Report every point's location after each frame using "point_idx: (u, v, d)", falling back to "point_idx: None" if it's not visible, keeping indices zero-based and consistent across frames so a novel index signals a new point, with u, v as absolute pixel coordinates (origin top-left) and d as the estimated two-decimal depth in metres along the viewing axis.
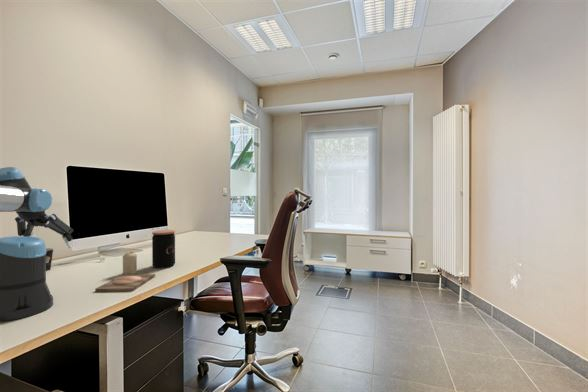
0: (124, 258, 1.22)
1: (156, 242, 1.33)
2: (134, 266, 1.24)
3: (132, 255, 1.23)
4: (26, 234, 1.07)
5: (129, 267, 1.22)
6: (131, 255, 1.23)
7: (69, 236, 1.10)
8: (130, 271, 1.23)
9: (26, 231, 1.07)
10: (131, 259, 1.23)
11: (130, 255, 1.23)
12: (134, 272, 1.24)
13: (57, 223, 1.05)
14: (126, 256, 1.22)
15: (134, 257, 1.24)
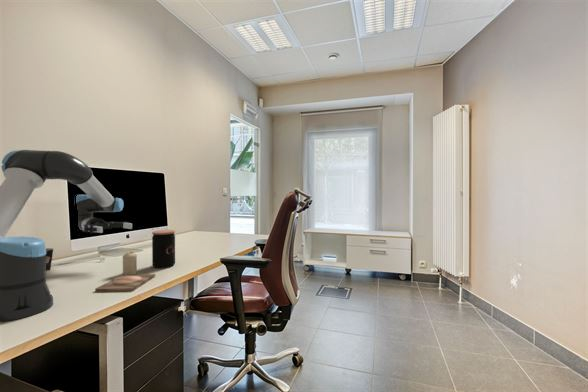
0: (124, 258, 1.22)
1: (156, 242, 1.33)
2: (134, 266, 1.24)
3: (132, 255, 1.23)
4: (92, 226, 1.26)
5: (129, 267, 1.22)
6: (131, 255, 1.23)
7: None
8: (130, 271, 1.23)
9: (92, 225, 1.28)
10: (131, 259, 1.23)
11: (130, 255, 1.23)
12: (134, 272, 1.24)
13: None
14: (126, 256, 1.22)
15: (134, 257, 1.24)
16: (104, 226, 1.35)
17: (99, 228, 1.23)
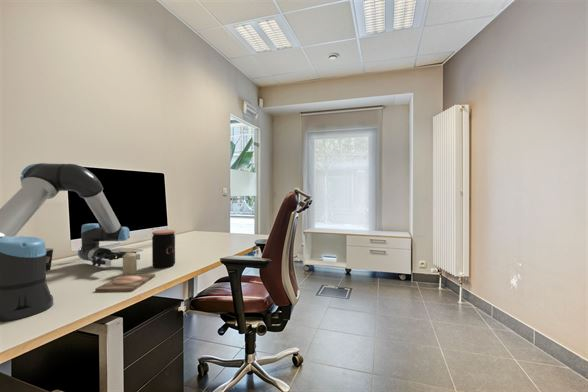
0: (124, 258, 1.22)
1: (156, 242, 1.33)
2: (134, 266, 1.24)
3: (132, 255, 1.23)
4: (100, 258, 1.25)
5: (129, 267, 1.22)
6: (131, 255, 1.23)
7: None
8: (130, 271, 1.23)
9: (100, 257, 1.26)
10: (131, 259, 1.23)
11: (130, 255, 1.23)
12: (134, 272, 1.24)
13: None
14: (126, 256, 1.22)
15: (134, 257, 1.24)
16: (111, 257, 1.33)
17: (107, 261, 1.21)
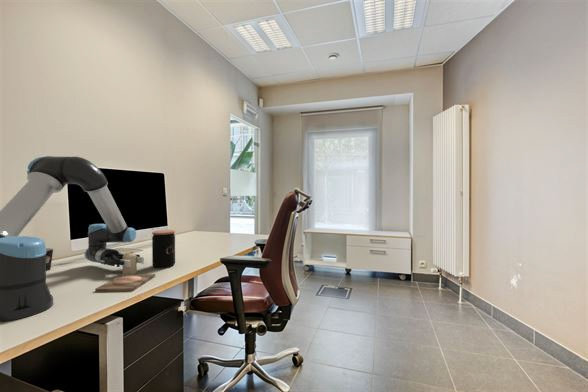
0: (124, 258, 1.22)
1: (156, 242, 1.33)
2: (134, 266, 1.24)
3: (132, 255, 1.23)
4: (118, 259, 1.23)
5: (129, 267, 1.22)
6: (131, 255, 1.23)
7: None
8: (130, 271, 1.23)
9: (116, 258, 1.24)
10: (131, 259, 1.23)
11: (130, 255, 1.23)
12: (134, 272, 1.24)
13: None
14: (126, 256, 1.22)
15: (134, 257, 1.24)
16: (119, 258, 1.29)
17: (127, 262, 1.20)
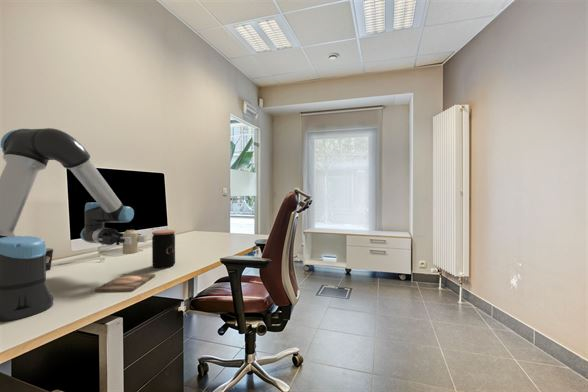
0: (124, 236, 1.13)
1: (156, 242, 1.33)
2: (135, 245, 1.15)
3: (133, 233, 1.15)
4: (117, 237, 1.14)
5: (130, 245, 1.14)
6: (132, 233, 1.14)
7: None
8: (131, 250, 1.14)
9: (115, 236, 1.15)
10: (131, 237, 1.14)
11: (131, 232, 1.14)
12: (135, 251, 1.15)
13: None
14: (126, 233, 1.13)
15: (135, 235, 1.15)
16: None
17: (127, 239, 1.11)
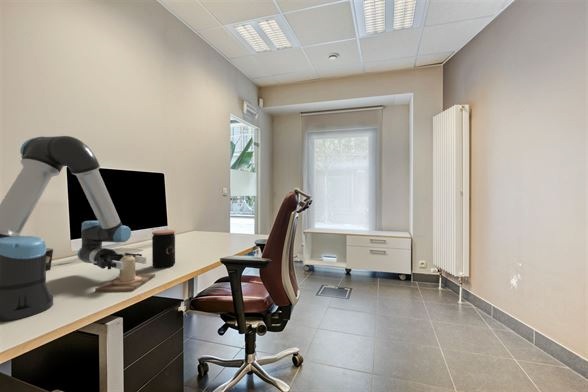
0: None
1: (156, 242, 1.33)
2: (132, 271, 1.10)
3: (130, 259, 1.10)
4: (109, 260, 1.08)
5: (127, 272, 1.09)
6: (129, 259, 1.09)
7: None
8: (128, 277, 1.09)
9: (108, 259, 1.09)
10: (129, 263, 1.09)
11: (128, 259, 1.09)
12: (132, 278, 1.10)
13: None
14: (123, 260, 1.08)
15: (132, 261, 1.10)
16: (116, 259, 1.15)
17: (119, 264, 1.05)
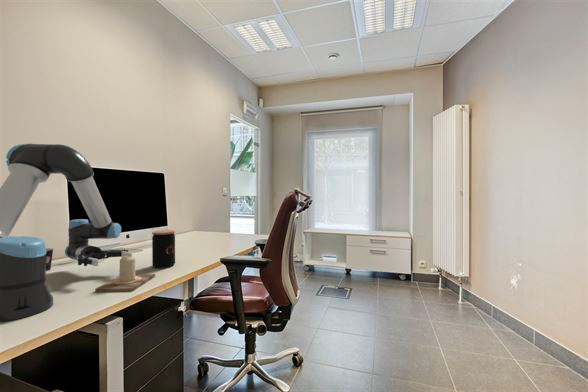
0: (121, 262, 1.08)
1: (156, 242, 1.33)
2: (132, 271, 1.10)
3: (130, 259, 1.10)
4: (87, 257, 1.13)
5: (127, 272, 1.09)
6: (129, 259, 1.09)
7: None
8: (128, 277, 1.09)
9: (87, 256, 1.15)
10: (129, 263, 1.09)
11: (128, 259, 1.09)
12: (132, 278, 1.10)
13: None
14: (123, 260, 1.08)
15: (132, 261, 1.10)
16: (100, 256, 1.21)
17: (94, 261, 1.09)
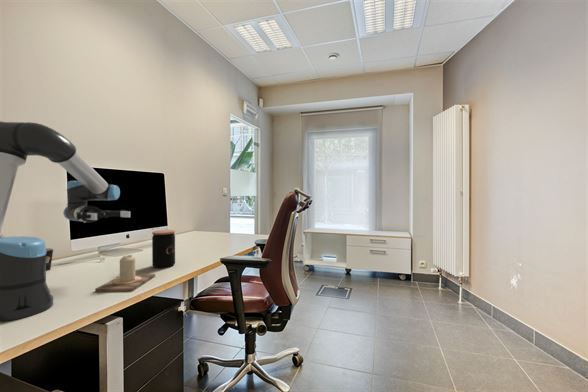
0: (121, 262, 1.08)
1: (156, 242, 1.33)
2: (132, 271, 1.10)
3: (130, 259, 1.10)
4: (86, 213, 1.13)
5: (127, 272, 1.09)
6: (129, 259, 1.09)
7: None
8: (128, 277, 1.09)
9: None
10: (129, 263, 1.09)
11: (128, 259, 1.09)
12: (132, 278, 1.10)
13: None
14: (123, 260, 1.08)
15: (132, 261, 1.10)
16: (99, 214, 1.21)
17: (93, 215, 1.09)
